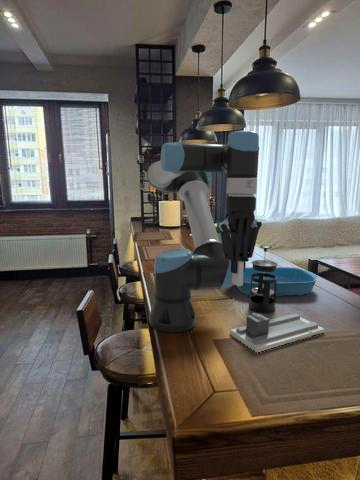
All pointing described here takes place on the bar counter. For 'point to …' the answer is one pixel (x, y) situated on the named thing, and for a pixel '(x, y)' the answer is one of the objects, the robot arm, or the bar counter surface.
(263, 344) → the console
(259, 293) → the french press
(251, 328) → the fader tab
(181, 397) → the bar counter surface
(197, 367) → the bar counter surface
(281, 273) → the casserole dish
